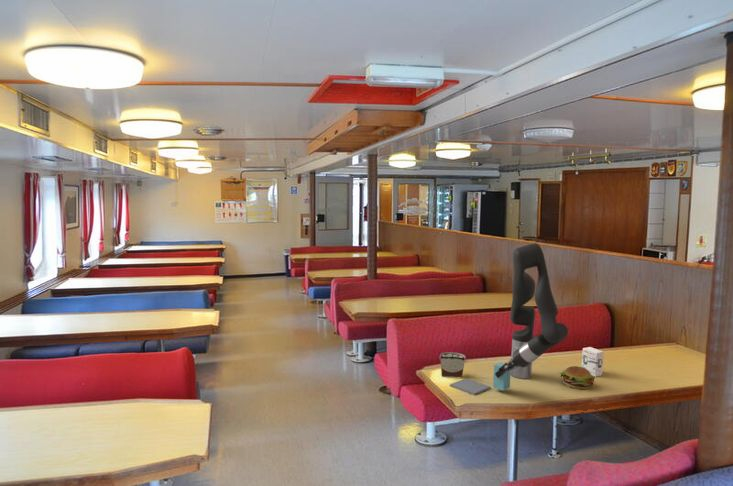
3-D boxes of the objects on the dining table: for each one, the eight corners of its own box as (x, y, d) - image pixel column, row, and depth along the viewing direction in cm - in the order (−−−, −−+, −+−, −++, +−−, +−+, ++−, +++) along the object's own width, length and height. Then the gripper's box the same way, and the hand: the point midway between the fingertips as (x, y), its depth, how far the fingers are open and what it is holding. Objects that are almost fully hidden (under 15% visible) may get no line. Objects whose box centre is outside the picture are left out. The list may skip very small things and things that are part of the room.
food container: (464, 373, 239) (465, 352, 238) (465, 377, 233) (466, 356, 232) (437, 371, 240) (438, 351, 239) (438, 376, 234) (439, 355, 233)
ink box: (580, 371, 246) (582, 347, 245) (587, 369, 248) (589, 346, 247) (595, 377, 238) (596, 352, 237) (602, 375, 241) (604, 351, 239)
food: (574, 377, 238) (575, 360, 237) (599, 387, 225) (601, 370, 225) (552, 381, 232) (553, 364, 231) (578, 392, 219) (579, 374, 218)
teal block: (499, 384, 222) (500, 362, 221) (509, 387, 218) (510, 365, 217) (493, 387, 218) (494, 364, 217) (503, 390, 215) (504, 367, 214)
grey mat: (466, 379, 230) (466, 378, 230) (490, 388, 221) (490, 386, 221) (449, 386, 222) (449, 384, 222) (474, 395, 213) (474, 393, 213)
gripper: (530, 343, 215) (504, 363, 225) (512, 349, 205) (485, 370, 215) (541, 358, 211) (514, 378, 221) (523, 365, 202) (495, 386, 212)
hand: (500, 374), depth 218 cm, fingers closed on teal block, 5 cm apart
